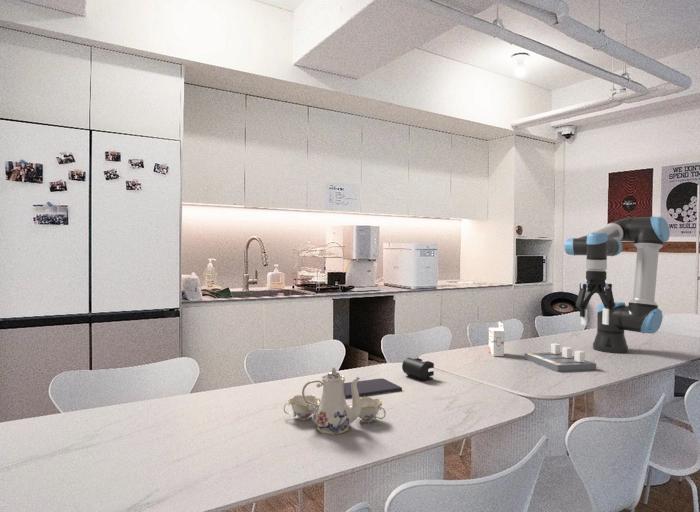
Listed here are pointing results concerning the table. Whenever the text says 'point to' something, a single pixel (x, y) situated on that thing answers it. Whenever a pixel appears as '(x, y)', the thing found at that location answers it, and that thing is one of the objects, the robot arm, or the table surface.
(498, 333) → the ink cartridge box
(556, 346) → the tab
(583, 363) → the switch panel
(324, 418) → the chinaware
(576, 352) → the tab
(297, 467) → the table surface
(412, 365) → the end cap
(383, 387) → the notebook
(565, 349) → the tab
